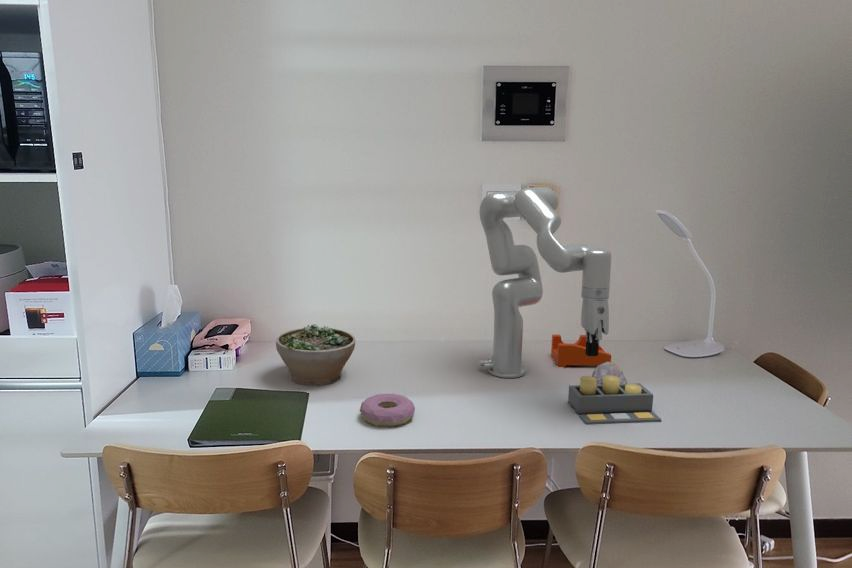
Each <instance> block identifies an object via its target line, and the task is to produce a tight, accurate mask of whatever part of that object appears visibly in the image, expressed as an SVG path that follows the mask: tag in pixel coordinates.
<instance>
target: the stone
mask: <svg viewBox="0 0 852 568" xmlns="http://www.w3.org/2000/svg"><path fill="white" fill-rule="evenodd" d="M606 375H612V376H617V377H619V378H620V382H619V384H628V381H627V379H626V377H625V375H624V372H623V370H622V369H621V368H620V367H619V365H617V364H616V363H614V362H612V361H611V362H605V363H603V364H600V365H599V366H596V368H595V369H594V370H593V371H592V374H591V377H595V378H596V379H597V384H596V385H603V377H604V376H606Z"/></svg>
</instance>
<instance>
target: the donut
mask: <svg viewBox="0 0 852 568" xmlns="http://www.w3.org/2000/svg"><path fill="white" fill-rule="evenodd" d="M415 411H416V407H415V404H414V402H413V401H412V400H410V399H409V398H408V397H406V396H405V395H402V394H396V393H377V394H374V395H372V396H370V397H367V398H366V399H365V400H364V401H362V402H361V405H360V408H359V412H360V415H361V417H362V419H363V420H364V421H366V422H368V423H370V424H372V425H374V426H376V427H390V428H391V427H392V428H393V427H396V426H400V425H406V423H407V422H409V421H410V420H411V419H412V418H414V415H415Z"/></svg>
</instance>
